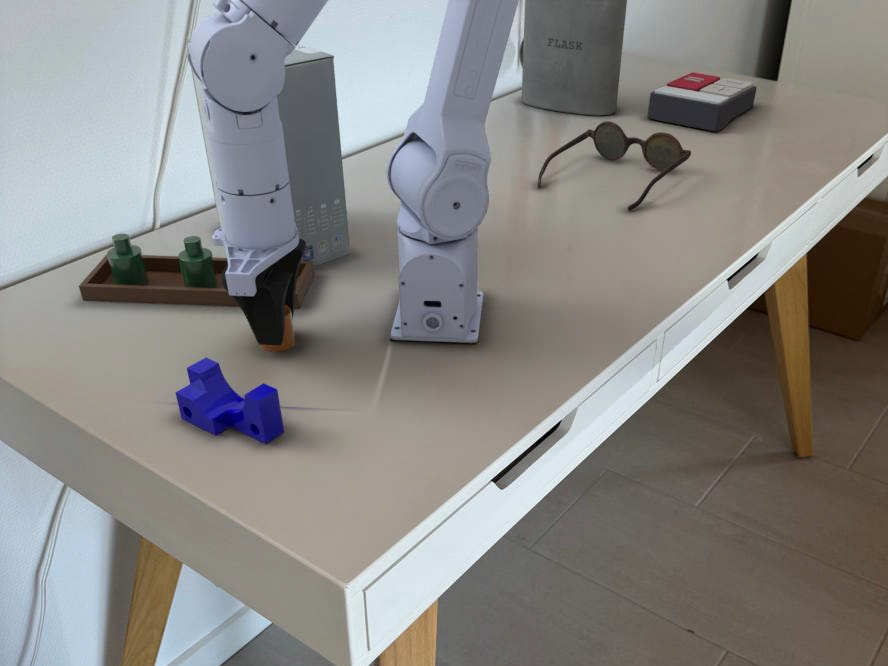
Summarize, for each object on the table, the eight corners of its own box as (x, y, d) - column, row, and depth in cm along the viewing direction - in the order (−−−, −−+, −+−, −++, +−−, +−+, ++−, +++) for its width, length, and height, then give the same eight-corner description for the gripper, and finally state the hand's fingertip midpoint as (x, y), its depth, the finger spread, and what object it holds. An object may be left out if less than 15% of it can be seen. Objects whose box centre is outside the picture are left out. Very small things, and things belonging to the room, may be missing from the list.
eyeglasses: (687, 175, 116) (694, 135, 113) (636, 213, 106) (641, 171, 103) (586, 153, 122) (589, 114, 119) (529, 187, 112) (531, 146, 109)
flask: (514, 105, 138) (518, -45, 125) (528, 95, 142) (534, -52, 129) (608, 119, 133) (622, -36, 120) (620, 108, 137) (635, -43, 125)
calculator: (759, 81, 136) (722, 100, 126) (752, 111, 139) (716, 132, 128) (690, 69, 141) (650, 87, 131) (685, 98, 143) (645, 118, 133)
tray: (299, 312, 87) (297, 294, 86) (83, 303, 88) (78, 285, 87) (315, 278, 93) (313, 260, 91) (111, 270, 94) (107, 253, 92)
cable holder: (181, 418, 73) (171, 376, 71) (214, 398, 75) (206, 357, 73) (251, 453, 70) (243, 410, 67) (284, 432, 72) (277, 389, 69)
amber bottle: (291, 355, 81) (284, 305, 78) (255, 354, 81) (247, 304, 78) (299, 337, 83) (292, 288, 80) (264, 336, 83) (256, 286, 80)
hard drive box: (353, 256, 97) (337, 55, 84) (292, 277, 93) (265, 69, 80) (275, 212, 106) (250, 24, 93) (216, 229, 102) (181, 36, 89)
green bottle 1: (142, 292, 89) (130, 244, 86) (110, 291, 89) (97, 243, 86) (153, 277, 91) (142, 230, 88) (122, 276, 92) (110, 229, 88)
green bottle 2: (212, 295, 89) (203, 247, 86) (180, 293, 89) (170, 245, 86) (222, 280, 91) (213, 232, 88) (190, 279, 91) (180, 231, 88)
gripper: (229, 149, 78) (252, 292, 87) (174, 217, 67) (207, 373, 76) (309, 152, 78) (325, 295, 87) (268, 220, 67) (291, 376, 75)
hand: (275, 332), depth 81 cm, fingers closed on amber bottle, 3 cm apart
